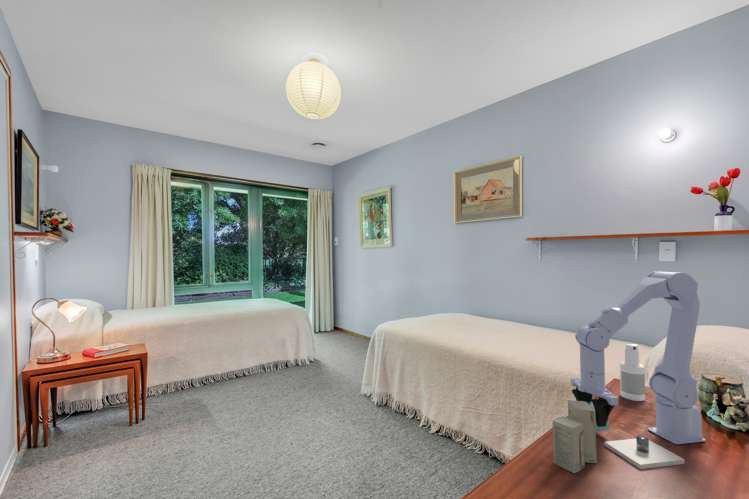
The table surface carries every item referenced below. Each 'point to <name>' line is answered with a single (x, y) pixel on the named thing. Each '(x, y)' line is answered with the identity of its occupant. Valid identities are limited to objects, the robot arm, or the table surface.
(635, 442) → the post board
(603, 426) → the teal brick on tray
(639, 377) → the spray bottle
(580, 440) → the skincare box
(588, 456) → the skincare box
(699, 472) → the table surface
